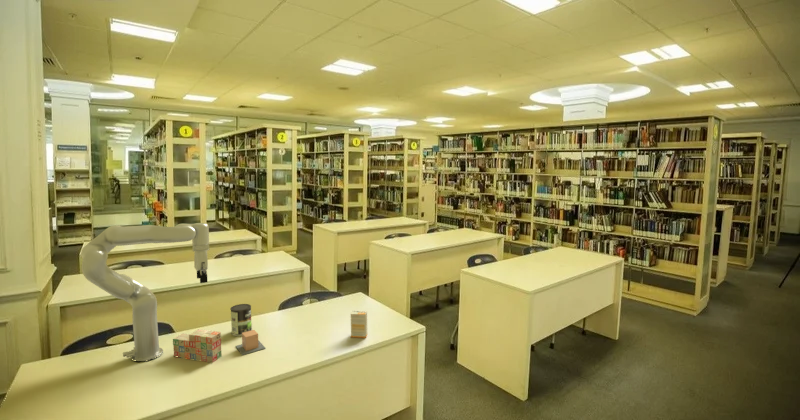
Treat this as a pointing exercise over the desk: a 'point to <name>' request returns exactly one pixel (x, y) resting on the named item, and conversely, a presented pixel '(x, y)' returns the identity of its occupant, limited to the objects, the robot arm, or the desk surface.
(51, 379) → the desk surface
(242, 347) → the mat
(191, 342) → the stack of blocks
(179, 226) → the robot arm
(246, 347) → the tan cardboard-coloured cube
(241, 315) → the coffee can
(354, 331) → the supplement box
